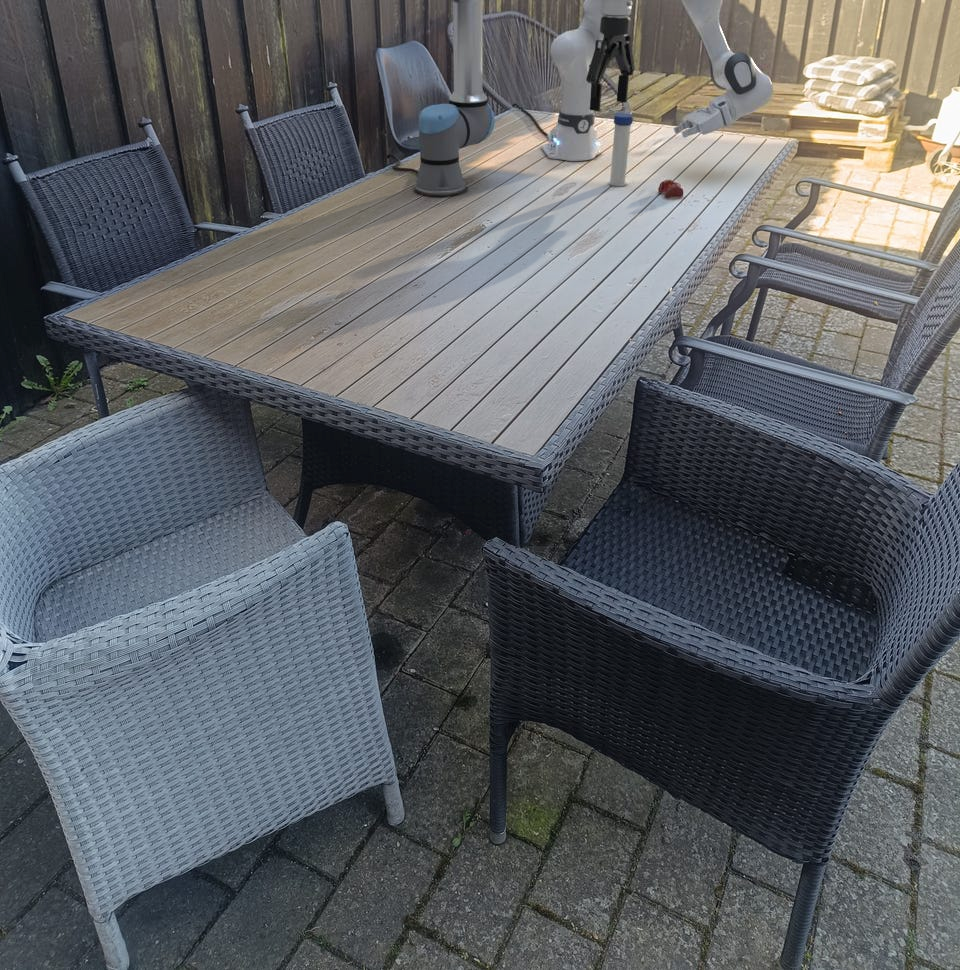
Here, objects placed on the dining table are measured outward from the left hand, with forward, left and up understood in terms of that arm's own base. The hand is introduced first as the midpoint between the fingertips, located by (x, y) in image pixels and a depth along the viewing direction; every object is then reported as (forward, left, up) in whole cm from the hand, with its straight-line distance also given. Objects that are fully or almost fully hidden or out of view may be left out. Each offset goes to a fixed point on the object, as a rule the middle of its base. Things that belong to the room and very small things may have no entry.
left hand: (608, 106), depth 226 cm
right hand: (0, +44, -15) cm, 46 cm away
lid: (-10, +26, -8) cm, 28 cm away
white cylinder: (-10, +26, -28) cm, 39 cm away
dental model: (+9, +26, -28) cm, 39 cm away
